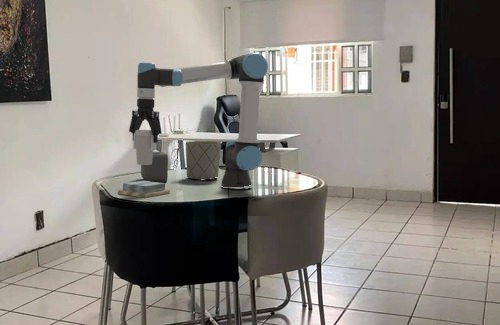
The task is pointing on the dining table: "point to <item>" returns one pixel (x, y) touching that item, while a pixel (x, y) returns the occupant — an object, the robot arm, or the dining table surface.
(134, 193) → the pedestal
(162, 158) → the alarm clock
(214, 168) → the planter
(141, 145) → the coffee cup
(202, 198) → the dining table surface
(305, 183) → the dining table surface
